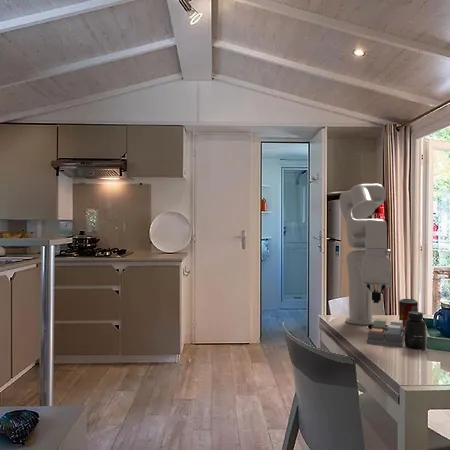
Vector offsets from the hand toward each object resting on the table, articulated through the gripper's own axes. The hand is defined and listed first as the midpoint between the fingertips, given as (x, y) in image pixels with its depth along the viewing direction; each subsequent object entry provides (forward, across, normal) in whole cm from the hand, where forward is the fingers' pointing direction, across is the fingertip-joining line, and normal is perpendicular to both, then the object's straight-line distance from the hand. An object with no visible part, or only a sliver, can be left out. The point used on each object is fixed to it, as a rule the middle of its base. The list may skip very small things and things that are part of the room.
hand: (376, 302), depth 161 cm
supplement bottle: (+14, -13, +4) cm, 20 cm away
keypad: (+14, -3, -4) cm, 15 cm away
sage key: (+11, 0, -9) cm, 14 cm away
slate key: (+11, -6, +1) cm, 12 cm away
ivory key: (+11, -6, -9) cm, 16 cm away
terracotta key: (+12, 0, +1) cm, 13 cm away
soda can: (+15, -10, -22) cm, 28 cm away
